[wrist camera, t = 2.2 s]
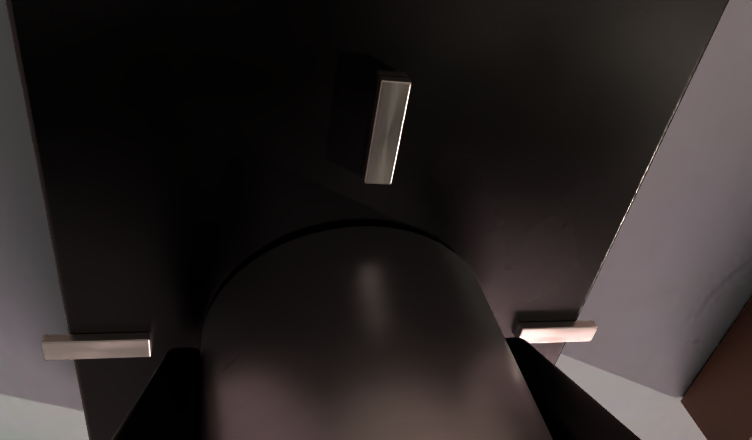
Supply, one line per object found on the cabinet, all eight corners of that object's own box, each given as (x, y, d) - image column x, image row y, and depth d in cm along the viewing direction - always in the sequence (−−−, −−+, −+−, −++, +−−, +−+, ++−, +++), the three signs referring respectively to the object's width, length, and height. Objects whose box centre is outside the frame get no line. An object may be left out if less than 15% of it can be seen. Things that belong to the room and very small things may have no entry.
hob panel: (459, 404, 16) (500, 519, 14) (116, 425, 14) (91, 563, 12) (637, -84, 10) (781, -31, 7) (28, -180, 7) (-74, -152, 5)
